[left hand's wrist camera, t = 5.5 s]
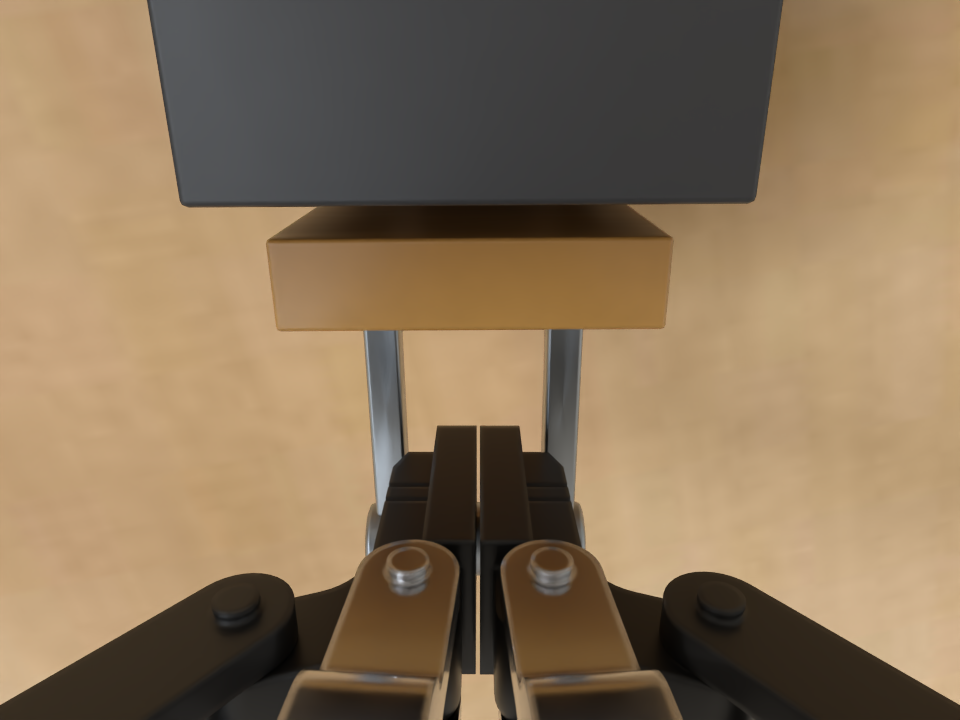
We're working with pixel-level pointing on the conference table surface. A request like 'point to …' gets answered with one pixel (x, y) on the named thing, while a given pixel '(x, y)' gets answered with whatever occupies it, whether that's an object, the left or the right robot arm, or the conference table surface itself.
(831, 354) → the conference table surface
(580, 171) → the cabinet
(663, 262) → the drawer
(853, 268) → the conference table surface
